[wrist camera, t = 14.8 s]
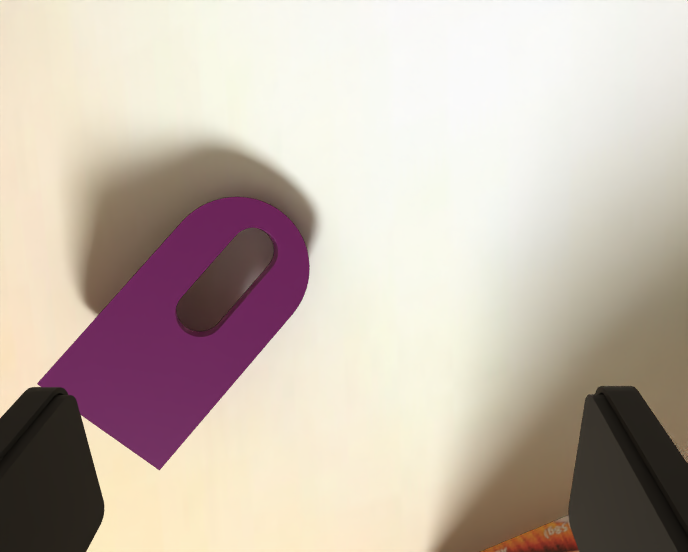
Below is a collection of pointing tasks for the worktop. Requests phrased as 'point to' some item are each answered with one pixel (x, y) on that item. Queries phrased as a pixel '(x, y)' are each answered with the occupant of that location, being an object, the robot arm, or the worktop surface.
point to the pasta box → (541, 539)
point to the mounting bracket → (180, 332)
